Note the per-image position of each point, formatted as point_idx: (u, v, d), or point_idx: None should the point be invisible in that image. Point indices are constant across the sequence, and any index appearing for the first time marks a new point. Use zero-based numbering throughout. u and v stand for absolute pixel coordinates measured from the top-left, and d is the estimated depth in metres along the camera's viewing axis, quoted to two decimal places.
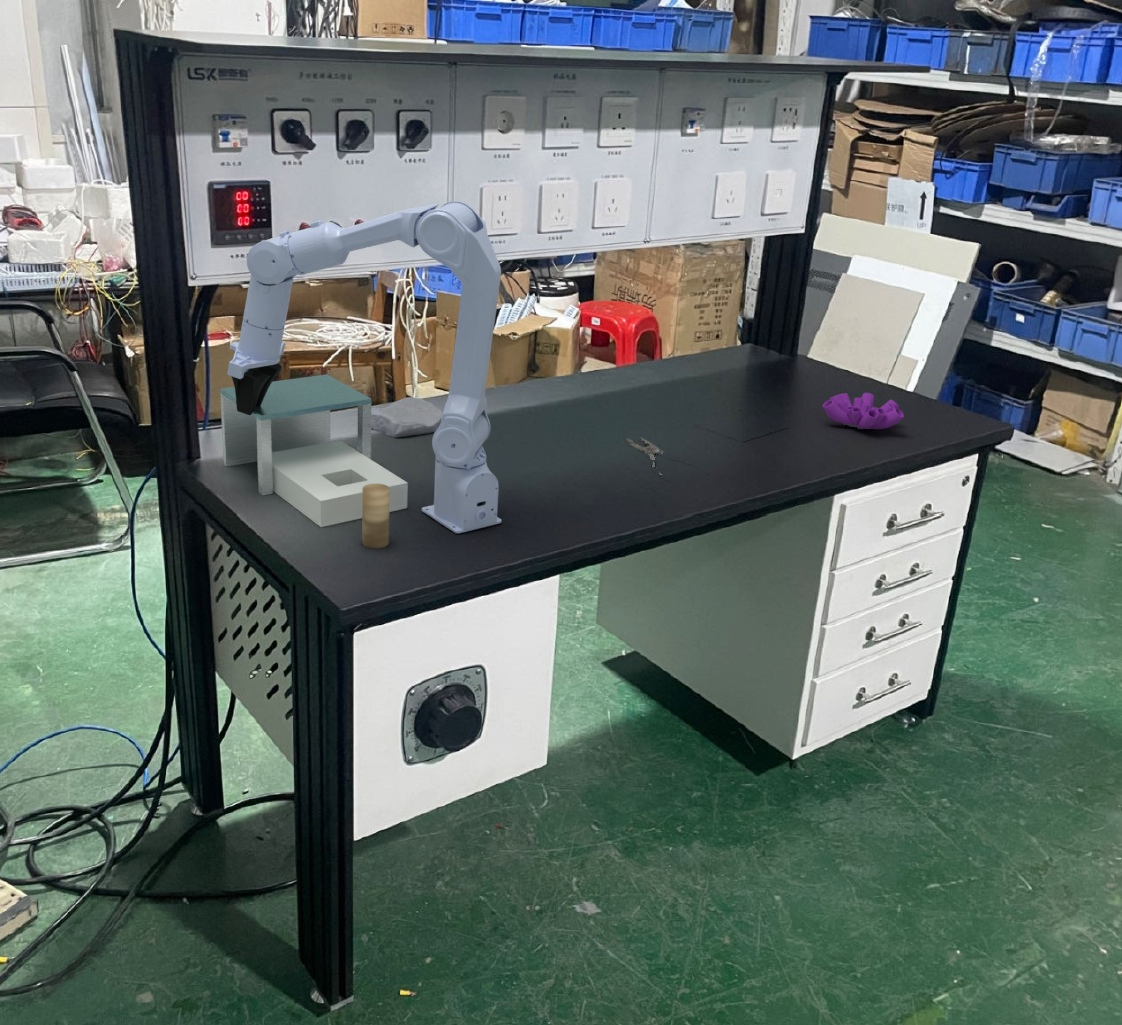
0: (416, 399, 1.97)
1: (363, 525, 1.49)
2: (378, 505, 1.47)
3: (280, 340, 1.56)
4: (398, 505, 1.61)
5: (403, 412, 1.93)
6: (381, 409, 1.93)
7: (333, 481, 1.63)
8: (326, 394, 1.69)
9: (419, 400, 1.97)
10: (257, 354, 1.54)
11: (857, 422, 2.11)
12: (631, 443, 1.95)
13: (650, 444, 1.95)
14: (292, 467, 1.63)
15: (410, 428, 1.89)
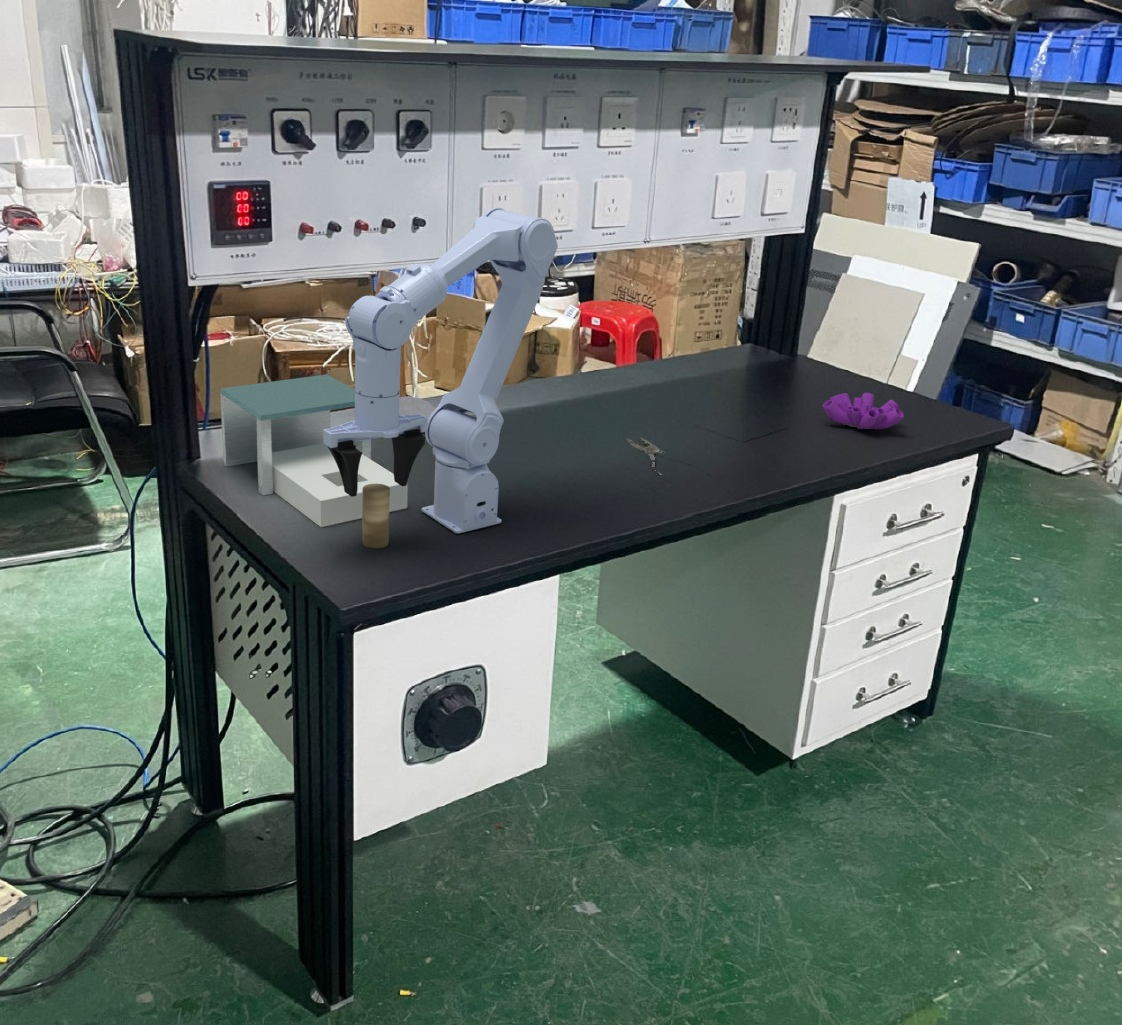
0: (413, 398, 1.97)
1: (363, 525, 1.49)
2: (378, 505, 1.47)
3: None
4: (398, 505, 1.61)
5: (401, 411, 1.93)
6: None
7: (333, 481, 1.63)
8: (326, 394, 1.69)
9: (416, 399, 1.97)
10: None
11: (857, 422, 2.11)
12: (631, 443, 1.95)
13: (650, 444, 1.95)
14: (292, 467, 1.63)
15: None
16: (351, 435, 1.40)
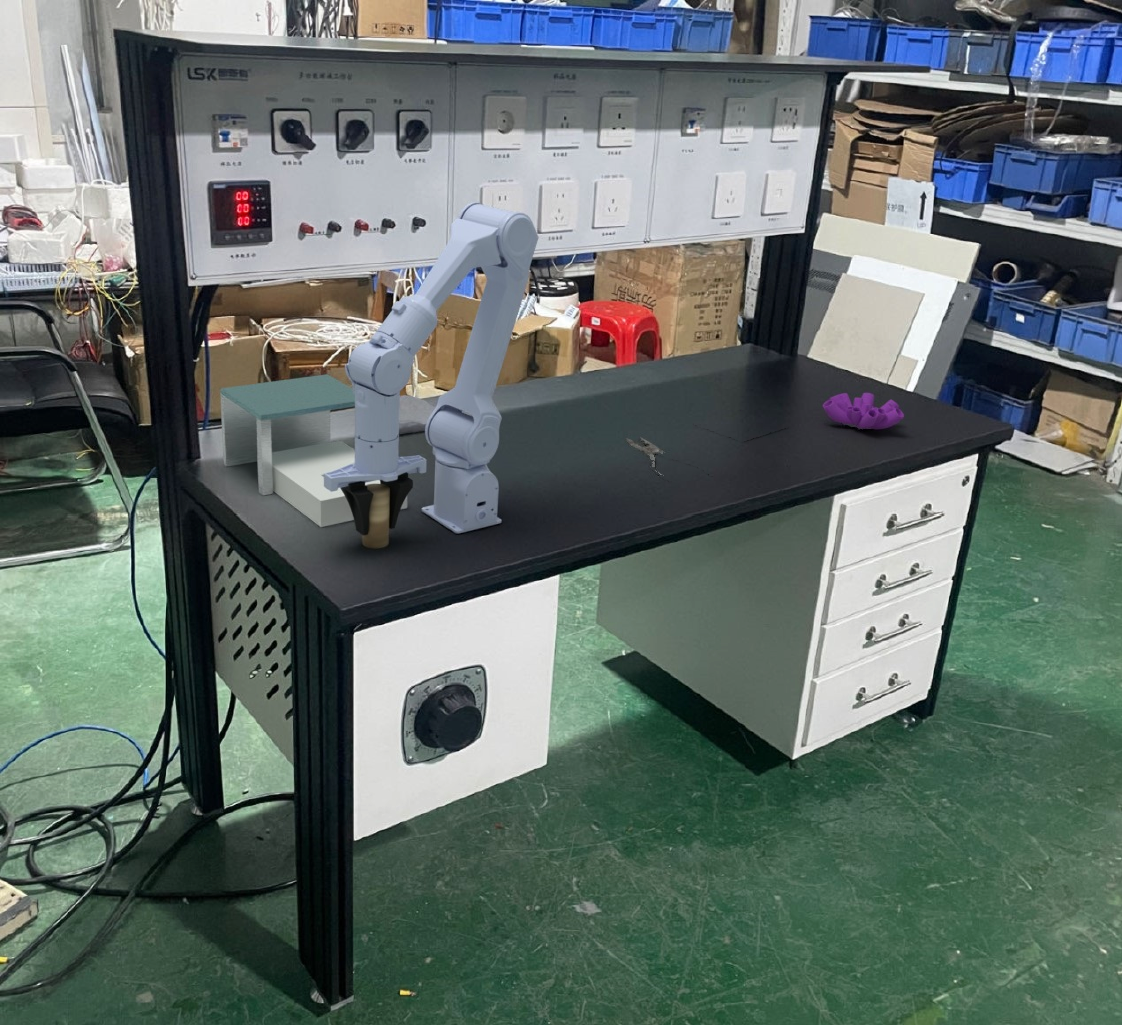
0: (411, 397, 1.98)
1: None
2: (378, 505, 1.47)
3: None
4: None
5: None
6: None
7: None
8: (326, 394, 1.69)
9: (414, 398, 1.98)
10: None
11: (857, 422, 2.11)
12: (631, 443, 1.95)
13: (650, 444, 1.95)
14: (292, 467, 1.63)
15: (405, 426, 1.90)
16: (351, 479, 1.43)
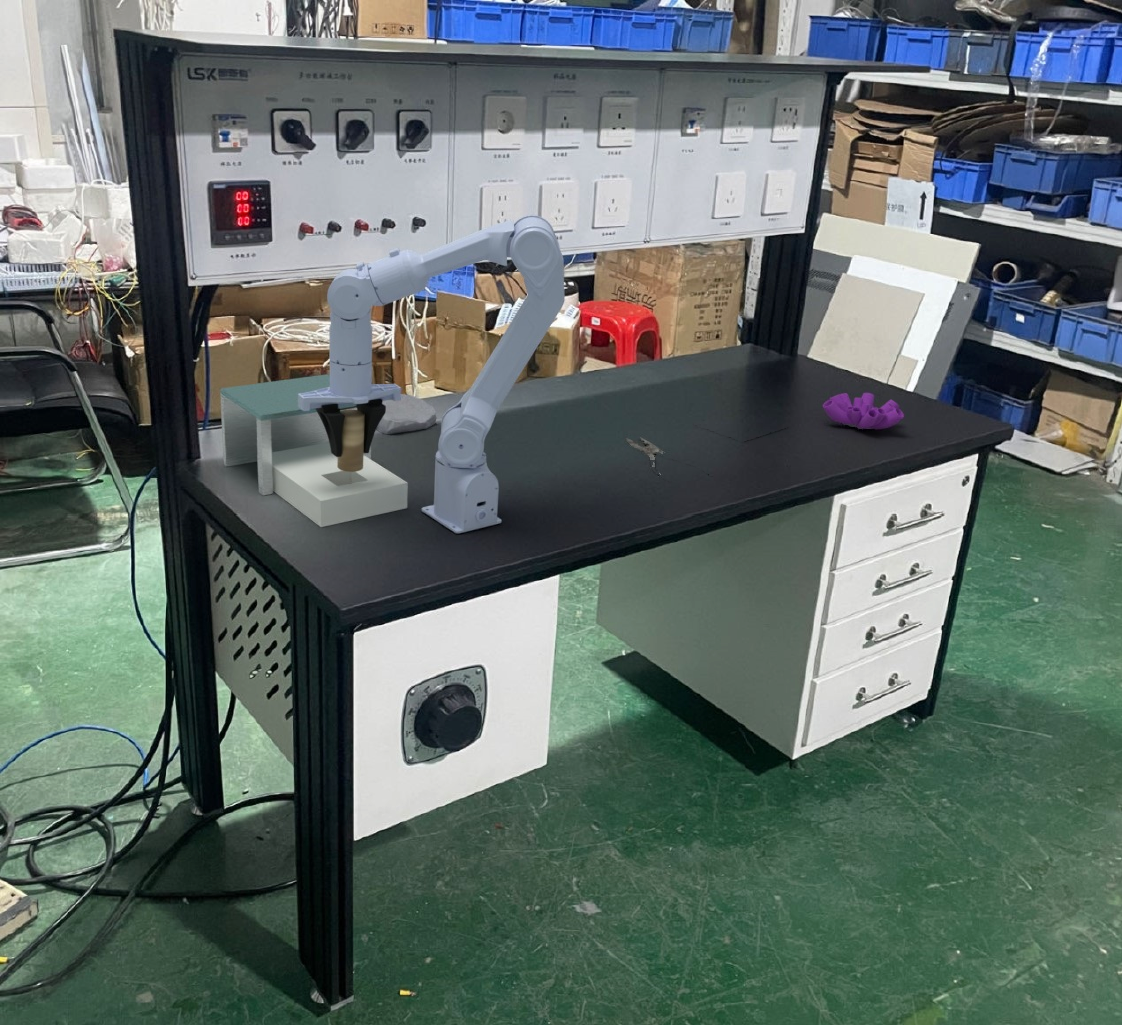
0: (407, 396, 1.98)
1: None
2: (351, 429, 1.53)
3: None
4: (398, 505, 1.61)
5: (395, 409, 1.94)
6: None
7: (333, 481, 1.63)
8: None
9: (410, 397, 1.98)
10: None
11: (857, 422, 2.11)
12: (631, 443, 1.95)
13: (650, 444, 1.95)
14: (292, 467, 1.63)
15: (402, 425, 1.91)
16: (323, 400, 1.49)
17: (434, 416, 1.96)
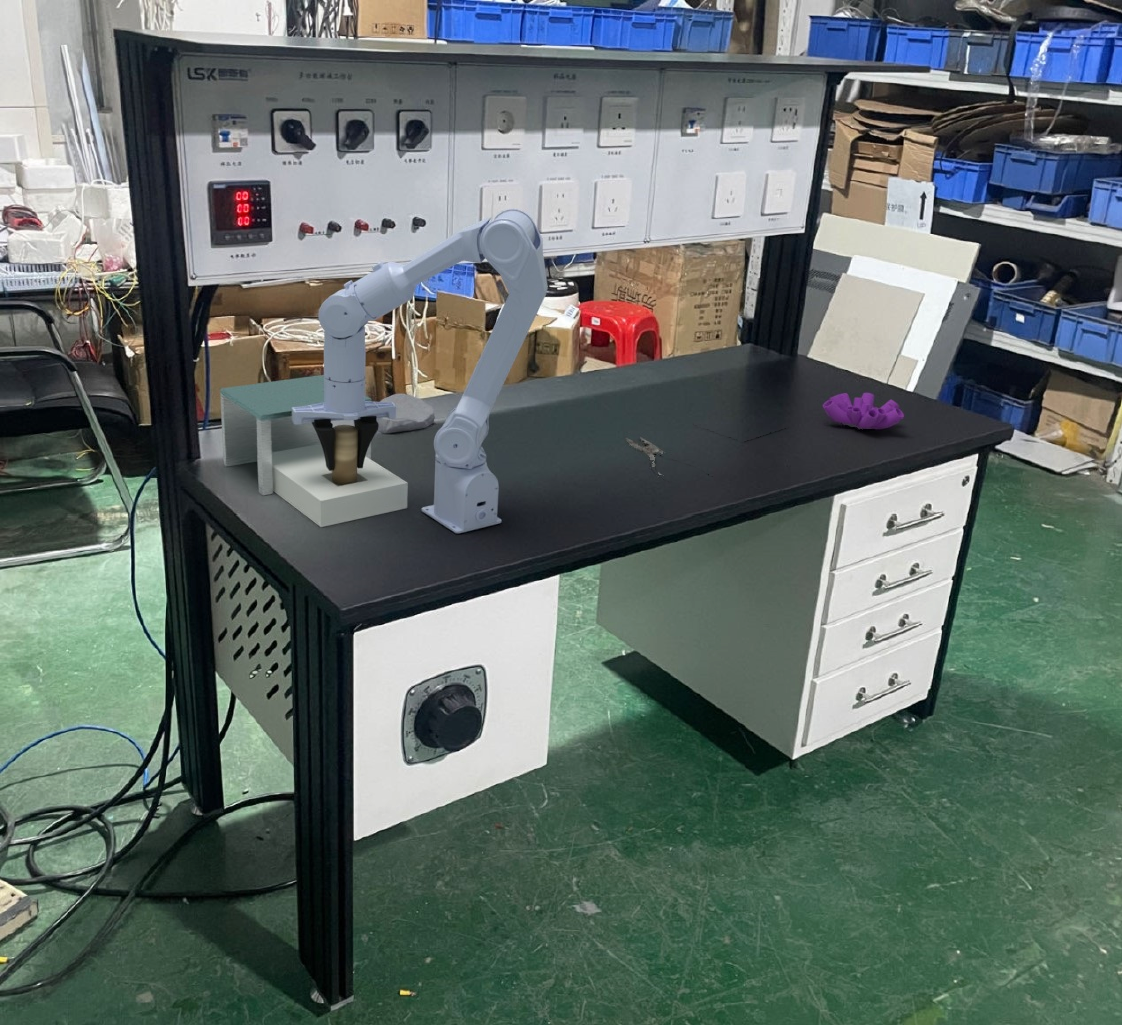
0: (406, 395, 1.98)
1: None
2: (343, 444, 1.57)
3: None
4: (398, 505, 1.61)
5: None
6: None
7: None
8: None
9: (409, 396, 1.98)
10: None
11: (857, 422, 2.11)
12: (631, 443, 1.95)
13: (650, 444, 1.95)
14: (292, 467, 1.63)
15: (400, 424, 1.91)
16: (314, 414, 1.54)
17: (432, 415, 1.96)
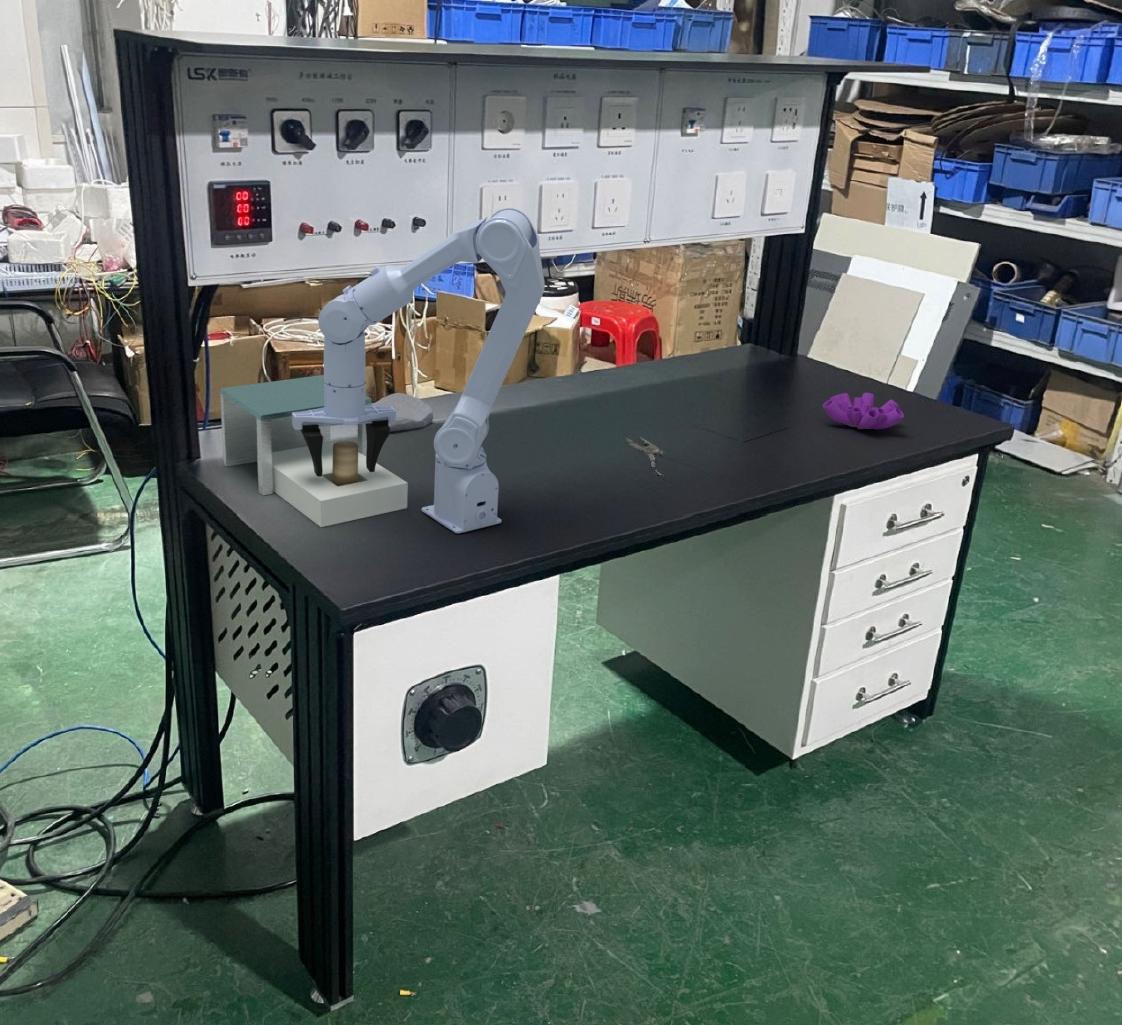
0: (404, 395, 1.99)
1: (332, 478, 1.60)
2: (343, 460, 1.58)
3: None
4: (398, 505, 1.61)
5: None
6: None
7: None
8: None
9: (407, 396, 1.99)
10: None
11: (857, 422, 2.11)
12: (631, 443, 1.95)
13: (650, 444, 1.95)
14: (292, 467, 1.63)
15: (399, 423, 1.91)
16: (314, 420, 1.54)
17: (431, 415, 1.97)
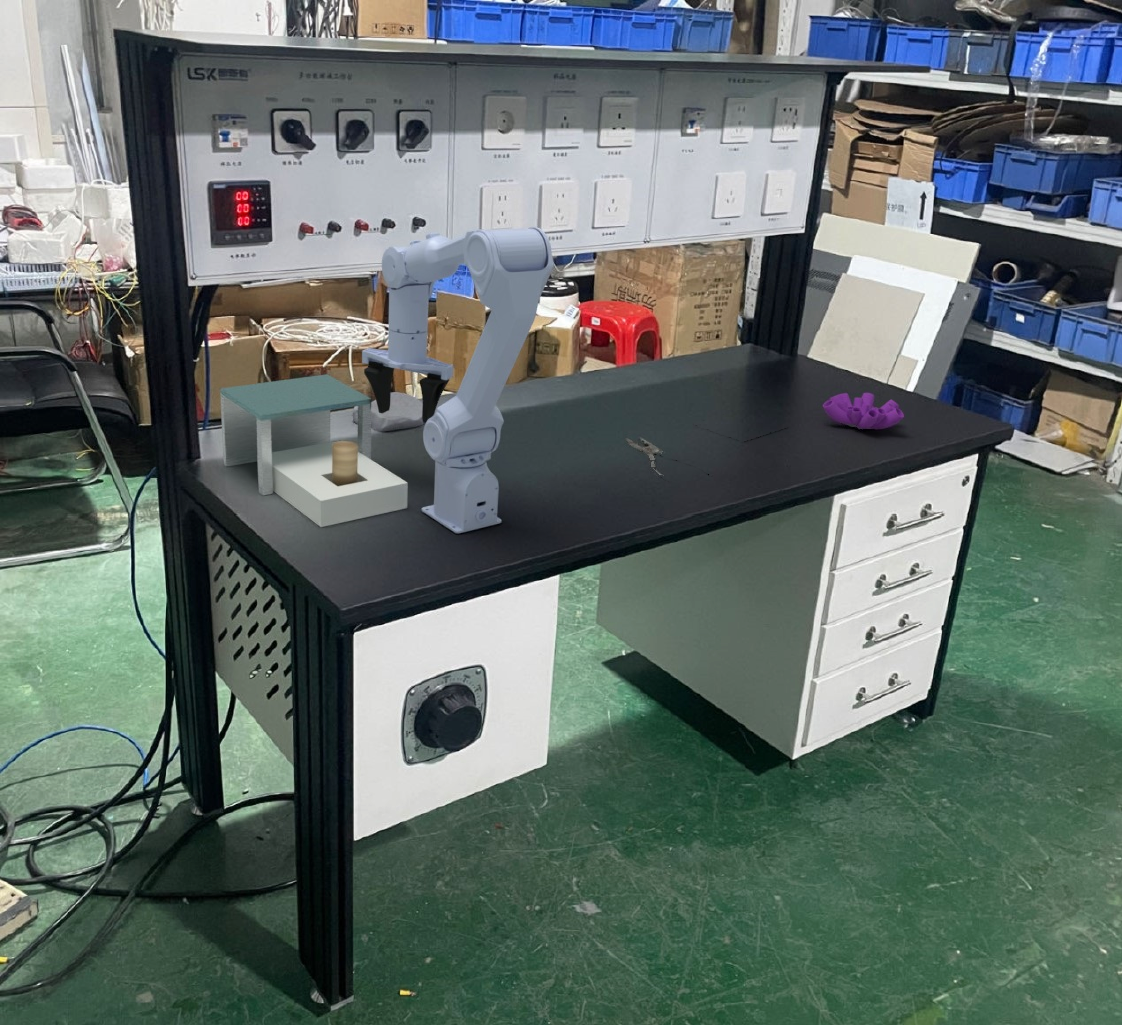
0: (401, 394, 1.99)
1: (332, 478, 1.60)
2: (342, 460, 1.58)
3: None
4: (398, 505, 1.61)
5: None
6: None
7: None
8: (326, 394, 1.69)
9: (404, 395, 1.99)
10: (426, 355, 1.64)
11: (857, 422, 2.11)
12: (631, 443, 1.95)
13: (650, 444, 1.95)
14: (292, 467, 1.63)
15: (396, 422, 1.92)
16: (375, 357, 1.65)
17: None
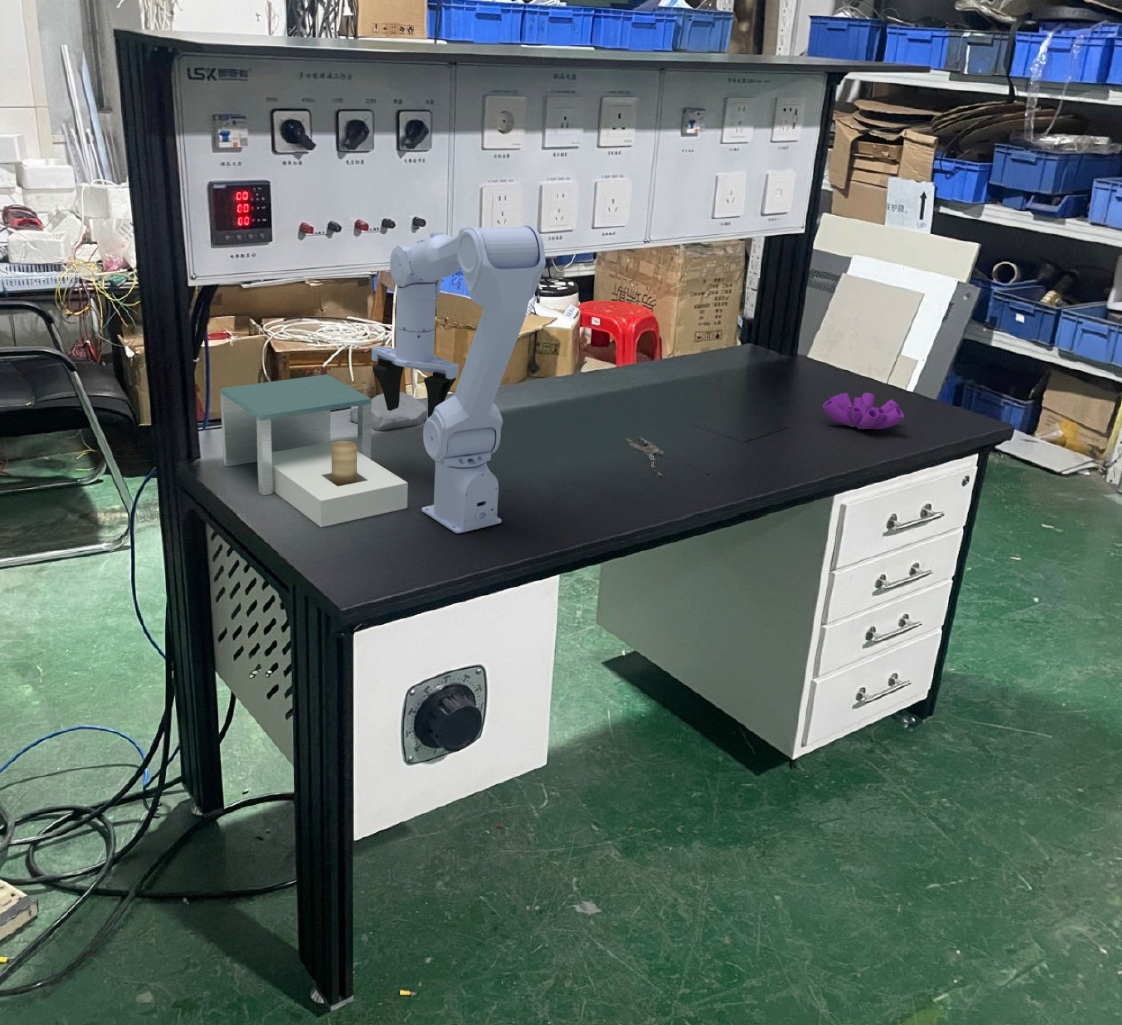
0: None
1: (332, 478, 1.60)
2: (342, 460, 1.58)
3: None
4: (398, 505, 1.61)
5: None
6: None
7: None
8: (326, 394, 1.69)
9: (401, 393, 1.99)
10: (433, 354, 1.65)
11: (858, 422, 2.11)
12: (630, 443, 1.95)
13: (649, 444, 1.95)
14: (292, 467, 1.63)
15: (393, 421, 1.92)
16: (383, 355, 1.67)
17: (425, 412, 1.98)
